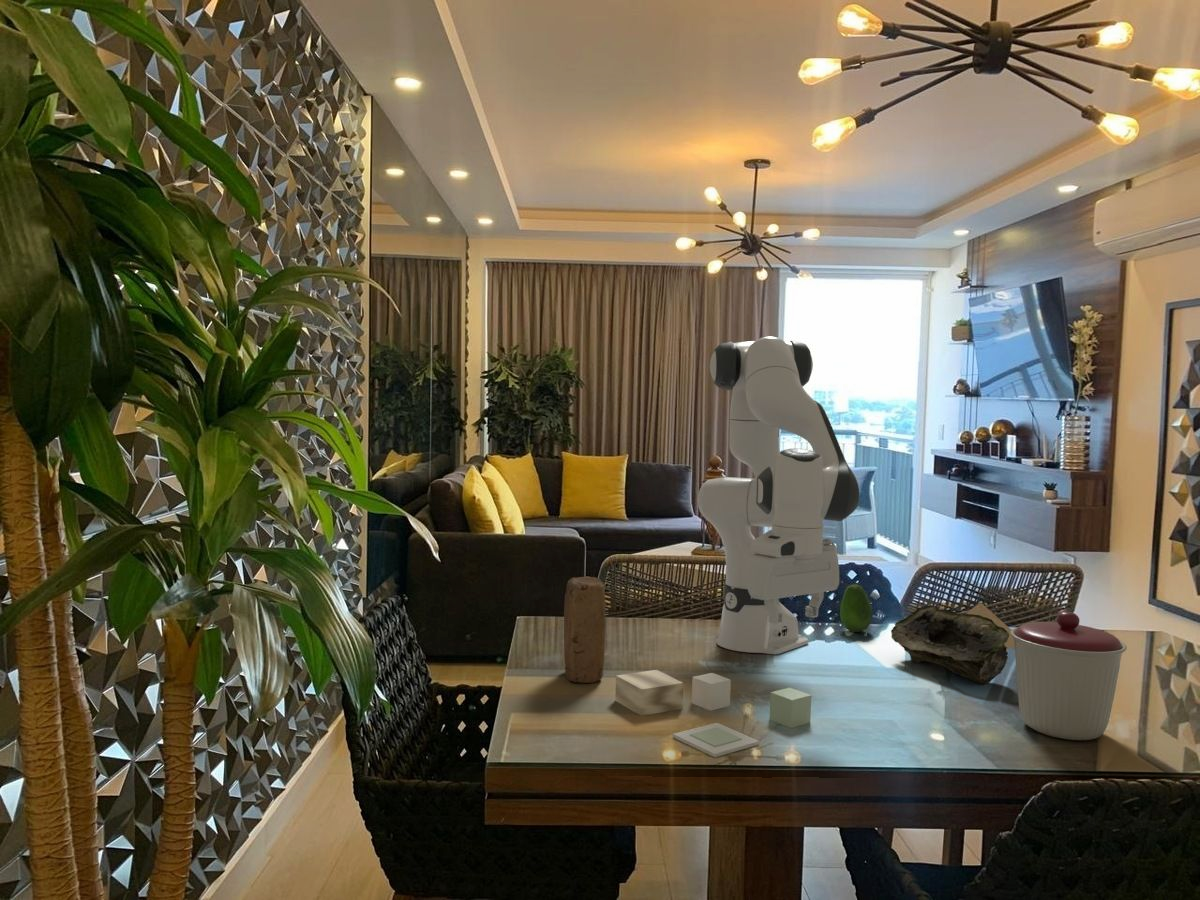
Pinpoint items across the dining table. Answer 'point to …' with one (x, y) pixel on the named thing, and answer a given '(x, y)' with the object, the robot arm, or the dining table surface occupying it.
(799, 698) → the sage cube
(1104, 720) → the canister
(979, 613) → the model pyramid
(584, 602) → the block
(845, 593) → the avocado
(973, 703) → the dining table surface
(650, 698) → the base block
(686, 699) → the dining table surface
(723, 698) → the offwhite cube
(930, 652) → the hollow geode rock
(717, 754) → the card
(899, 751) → the dining table surface
